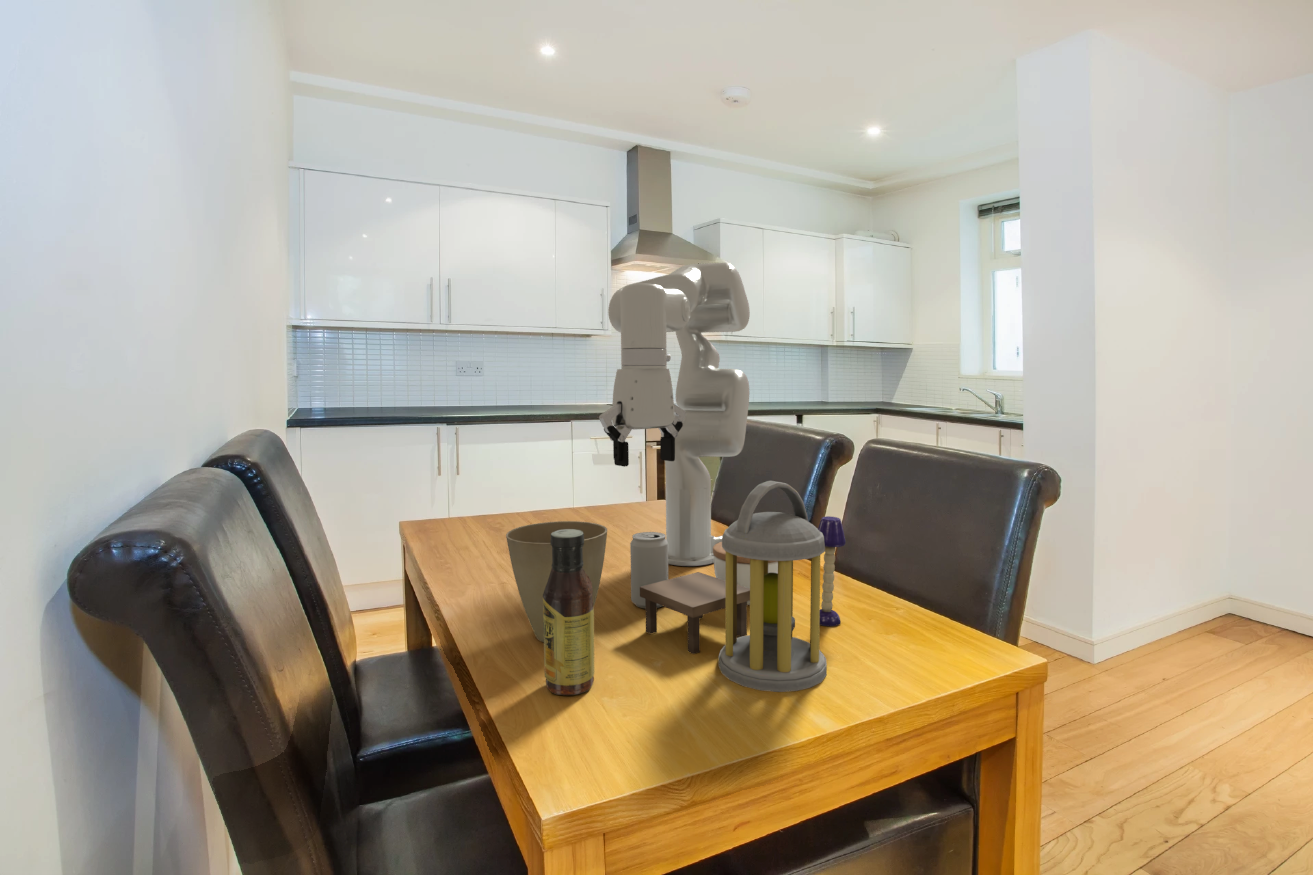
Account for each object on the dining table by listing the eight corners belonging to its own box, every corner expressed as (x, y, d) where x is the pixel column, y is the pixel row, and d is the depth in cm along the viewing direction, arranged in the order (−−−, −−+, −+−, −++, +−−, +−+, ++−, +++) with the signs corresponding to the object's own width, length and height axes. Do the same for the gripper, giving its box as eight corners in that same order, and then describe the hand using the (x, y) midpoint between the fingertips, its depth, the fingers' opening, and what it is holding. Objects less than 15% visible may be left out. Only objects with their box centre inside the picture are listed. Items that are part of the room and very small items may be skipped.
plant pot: (604, 614, 110) (602, 518, 109) (614, 650, 95) (612, 540, 94) (511, 620, 107) (508, 522, 106) (506, 658, 93) (503, 545, 91)
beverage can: (664, 611, 111) (664, 540, 110) (627, 609, 112) (626, 538, 111) (671, 598, 117) (671, 531, 116) (635, 596, 119) (635, 530, 118)
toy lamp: (845, 618, 107) (846, 515, 105) (843, 629, 102) (844, 521, 101) (814, 615, 108) (815, 513, 107) (811, 625, 104) (812, 519, 103)
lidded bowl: (793, 592, 120) (794, 531, 119) (775, 615, 109) (775, 548, 108) (726, 583, 126) (726, 525, 125) (702, 604, 114) (702, 541, 113)
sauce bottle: (546, 676, 87) (543, 526, 85) (595, 674, 88) (592, 524, 86) (542, 701, 80) (538, 538, 79) (594, 698, 81) (592, 536, 79)
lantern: (775, 638, 99) (776, 470, 97) (850, 673, 87) (853, 483, 85) (697, 660, 92) (696, 479, 89) (768, 702, 80) (769, 494, 77)
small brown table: (698, 613, 110) (698, 571, 109) (752, 635, 100) (752, 589, 100) (640, 631, 102) (639, 586, 102) (693, 656, 93) (692, 607, 92)
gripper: (670, 361, 119) (671, 456, 121) (587, 360, 109) (589, 465, 110) (698, 360, 113) (698, 460, 115) (613, 359, 103) (615, 470, 104)
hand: (645, 462), depth 113 cm, fingers open, 9 cm apart
